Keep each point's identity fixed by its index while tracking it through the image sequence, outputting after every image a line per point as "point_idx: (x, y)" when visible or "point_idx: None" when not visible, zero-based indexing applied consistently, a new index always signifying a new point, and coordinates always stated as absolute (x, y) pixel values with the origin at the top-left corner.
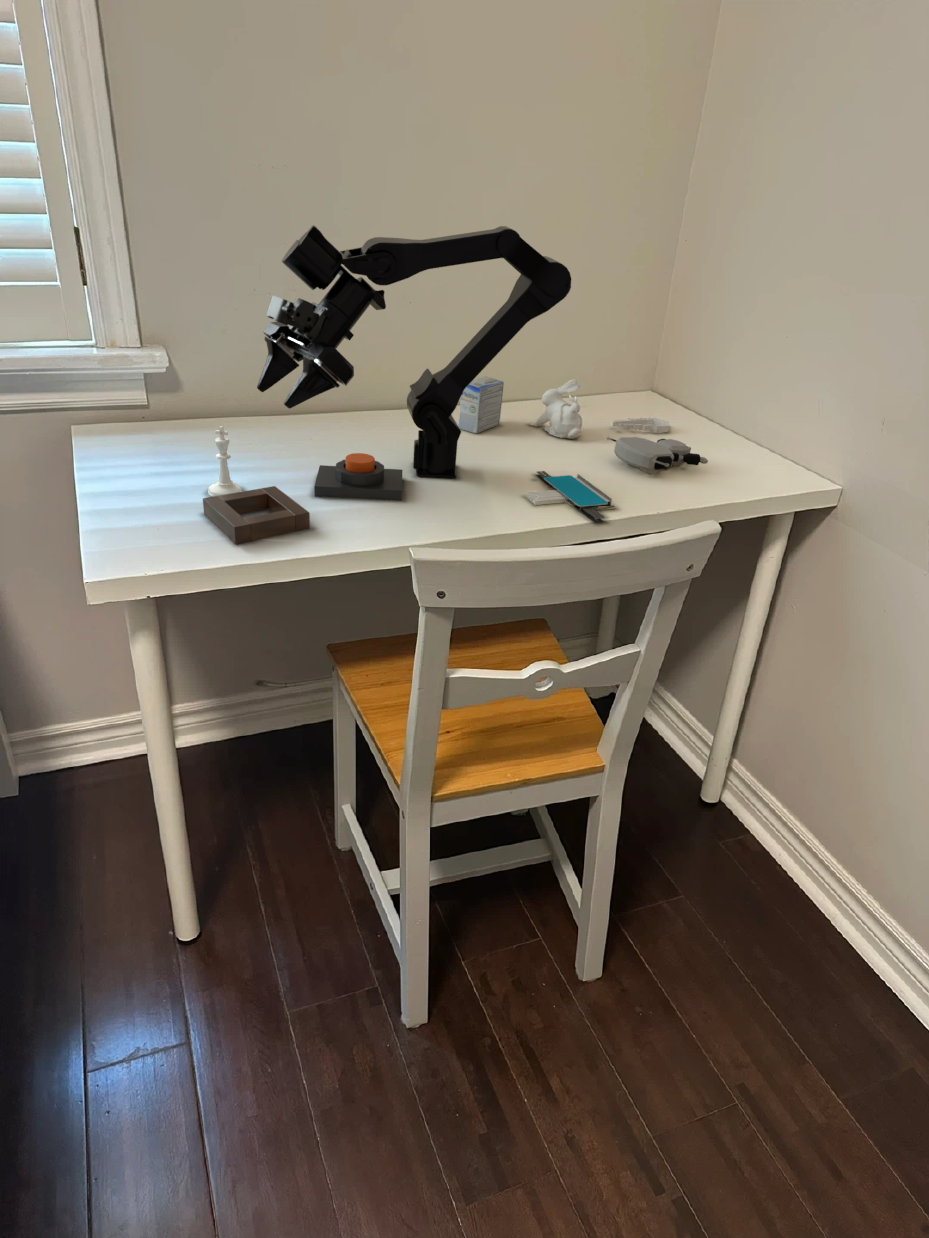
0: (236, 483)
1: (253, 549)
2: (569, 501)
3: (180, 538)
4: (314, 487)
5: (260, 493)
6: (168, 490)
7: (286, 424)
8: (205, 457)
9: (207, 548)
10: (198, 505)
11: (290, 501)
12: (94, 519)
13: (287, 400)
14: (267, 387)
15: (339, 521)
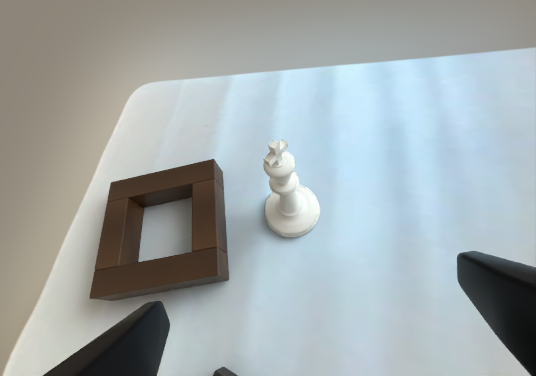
0: (303, 227)
1: None
2: None
3: (173, 143)
4: (216, 370)
5: (195, 240)
6: (322, 140)
7: None
8: (489, 207)
9: (136, 165)
10: (257, 169)
11: (142, 281)
12: (255, 76)
13: (130, 314)
14: (486, 313)
15: None
